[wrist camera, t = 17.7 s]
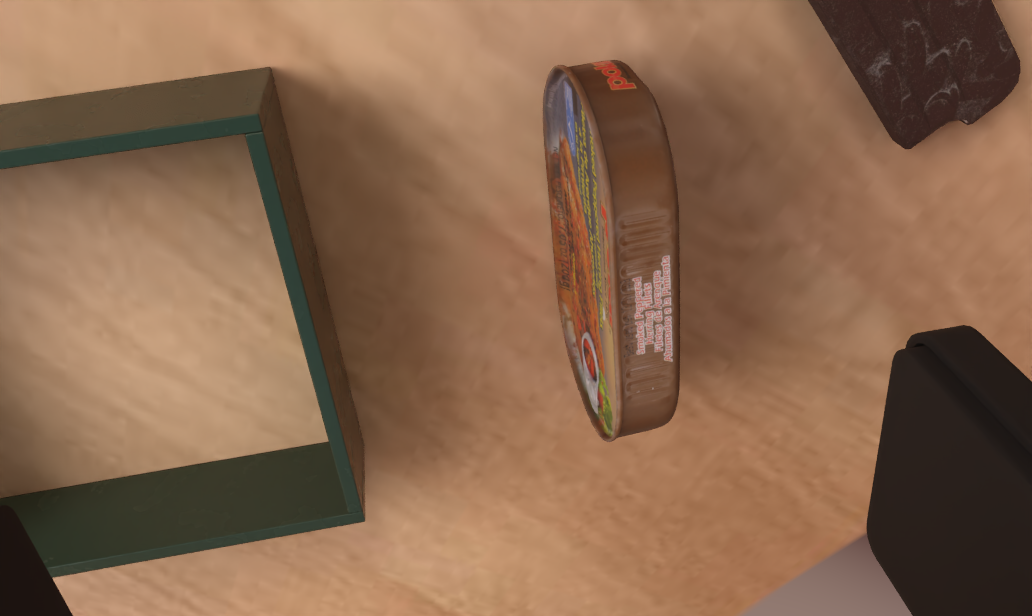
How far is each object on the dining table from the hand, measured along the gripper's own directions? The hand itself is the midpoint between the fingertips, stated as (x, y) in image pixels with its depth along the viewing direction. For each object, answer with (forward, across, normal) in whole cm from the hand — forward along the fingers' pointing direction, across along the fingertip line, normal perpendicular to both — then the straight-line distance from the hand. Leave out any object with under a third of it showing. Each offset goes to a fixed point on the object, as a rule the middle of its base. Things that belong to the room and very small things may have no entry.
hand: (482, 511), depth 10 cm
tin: (+26, -6, +10) cm, 29 cm away
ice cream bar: (+26, -18, +2) cm, 32 cm away
